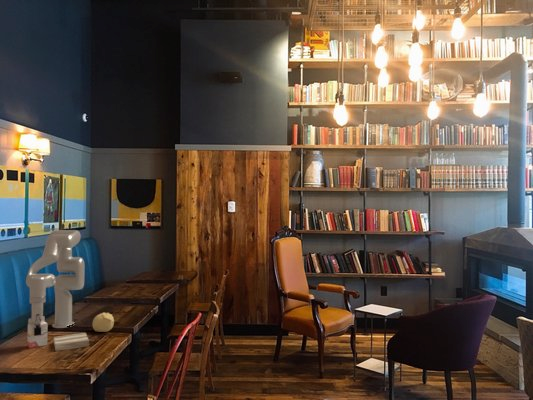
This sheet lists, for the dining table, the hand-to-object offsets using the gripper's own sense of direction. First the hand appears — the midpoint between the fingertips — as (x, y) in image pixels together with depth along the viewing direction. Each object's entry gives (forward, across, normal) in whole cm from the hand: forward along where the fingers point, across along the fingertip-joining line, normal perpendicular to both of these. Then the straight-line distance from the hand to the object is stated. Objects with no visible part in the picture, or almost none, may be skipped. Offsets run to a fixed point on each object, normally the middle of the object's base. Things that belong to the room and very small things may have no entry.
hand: (37, 333), depth 224 cm
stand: (+7, +6, +16) cm, 18 cm away
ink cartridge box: (+7, 0, 0) cm, 7 cm away
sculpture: (+7, -12, +35) cm, 37 cm away
